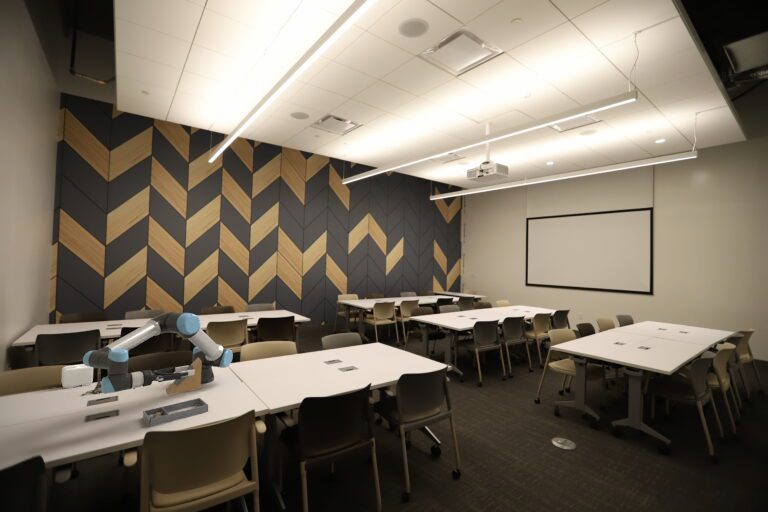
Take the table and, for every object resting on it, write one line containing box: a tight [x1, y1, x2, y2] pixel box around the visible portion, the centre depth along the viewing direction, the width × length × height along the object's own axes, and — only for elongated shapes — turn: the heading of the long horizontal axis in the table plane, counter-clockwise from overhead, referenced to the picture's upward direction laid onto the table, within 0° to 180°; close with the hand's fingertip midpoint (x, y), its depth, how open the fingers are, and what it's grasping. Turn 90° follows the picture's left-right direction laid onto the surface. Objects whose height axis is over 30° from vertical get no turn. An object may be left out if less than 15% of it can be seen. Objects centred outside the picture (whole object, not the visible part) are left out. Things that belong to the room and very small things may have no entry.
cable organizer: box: [61, 363, 94, 389], centre depth 223 cm, size 15×11×12 cm
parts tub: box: [142, 397, 209, 428], centre depth 186 cm, size 27×13×4 cm, turn 136°
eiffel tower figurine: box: [81, 370, 104, 397], centre depth 213 cm, size 15×10×13 cm
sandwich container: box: [165, 358, 202, 395], centre depth 189 cm, size 9×15×15 cm, turn 129°
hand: (191, 370), depth 191 cm, fingers closed on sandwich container, 8 cm apart
